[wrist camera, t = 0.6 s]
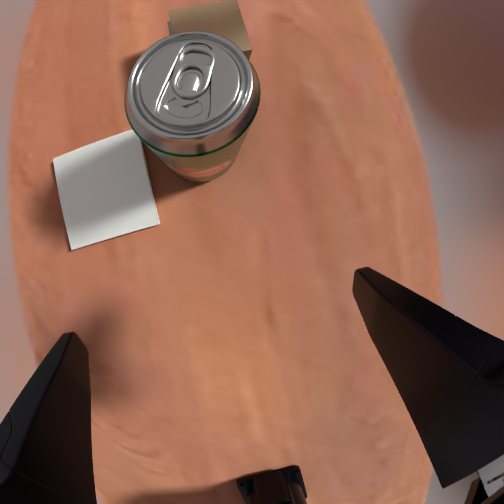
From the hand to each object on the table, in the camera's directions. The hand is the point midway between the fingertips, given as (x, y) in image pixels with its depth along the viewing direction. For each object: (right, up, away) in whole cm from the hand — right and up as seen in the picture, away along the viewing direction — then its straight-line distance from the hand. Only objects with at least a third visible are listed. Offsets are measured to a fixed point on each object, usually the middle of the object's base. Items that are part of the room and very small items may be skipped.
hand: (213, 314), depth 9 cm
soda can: (-2, +9, +12) cm, 15 cm away
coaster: (-9, +6, +11) cm, 16 cm away
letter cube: (-2, +16, +11) cm, 20 cm away
